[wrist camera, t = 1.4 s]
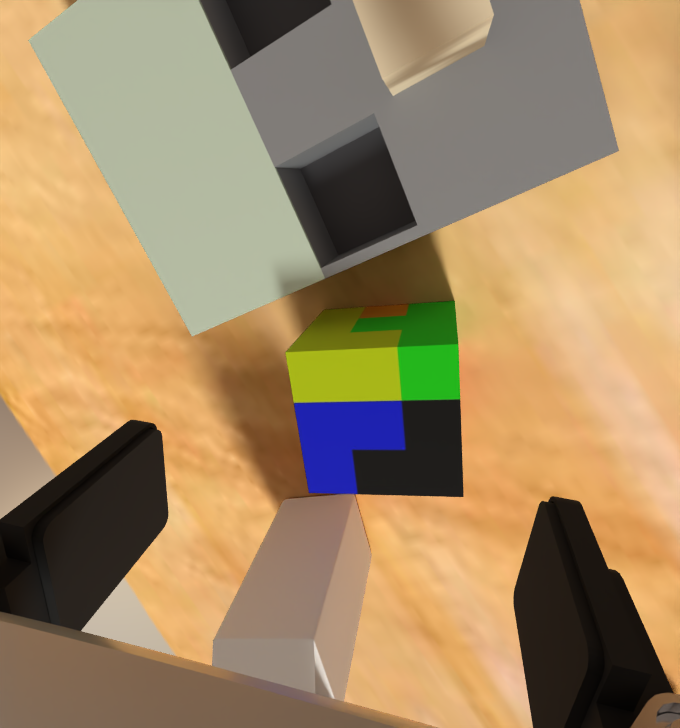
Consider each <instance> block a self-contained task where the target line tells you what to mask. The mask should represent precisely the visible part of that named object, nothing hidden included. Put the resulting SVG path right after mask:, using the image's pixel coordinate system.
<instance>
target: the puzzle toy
mask: <svg viewBox="0 0 680 728" xmlns="http://www.w3.org/2000/svg"><path fill="white" fill-rule="evenodd" d="M285 354H286V360H287V366H288V371H289V377H290V383H291V389H292V395H293V401H294V407H295V413H296V419H297V425H298V431H299V437H300V443H301V449H302V455H303V461H304V467H305V472H306V478H307V484H308V490H309V493H331V494H370V495H408V496H446V497H463V469H462V439H461V409H460V380H459V350H458V335H457V323H456V312H455V301H445V302H430V303H416V304H401V305H386V306H371V307H356V308H342V309H327V310H323V311H322V313H321V314H320V315H319V316H318V317H317V318H316V319H315V320H314V321H313V322H312V323H311V325H310V326H309V327H308V328H307V329H306V330H305V331H304V332H303V333H302V334H301V336H300V337H299V338H298V339H297V340H296V341H295V342H294V343H293V344H292V345H291V347H290V348H289V349H288V350H287V351H286V352H285Z"/></svg>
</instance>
